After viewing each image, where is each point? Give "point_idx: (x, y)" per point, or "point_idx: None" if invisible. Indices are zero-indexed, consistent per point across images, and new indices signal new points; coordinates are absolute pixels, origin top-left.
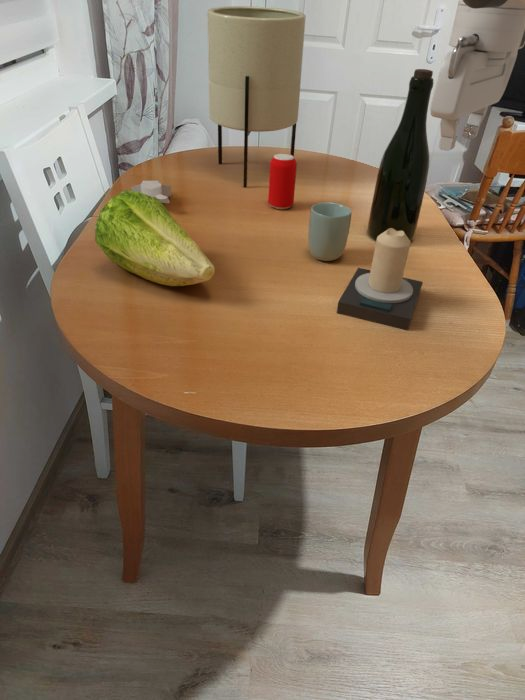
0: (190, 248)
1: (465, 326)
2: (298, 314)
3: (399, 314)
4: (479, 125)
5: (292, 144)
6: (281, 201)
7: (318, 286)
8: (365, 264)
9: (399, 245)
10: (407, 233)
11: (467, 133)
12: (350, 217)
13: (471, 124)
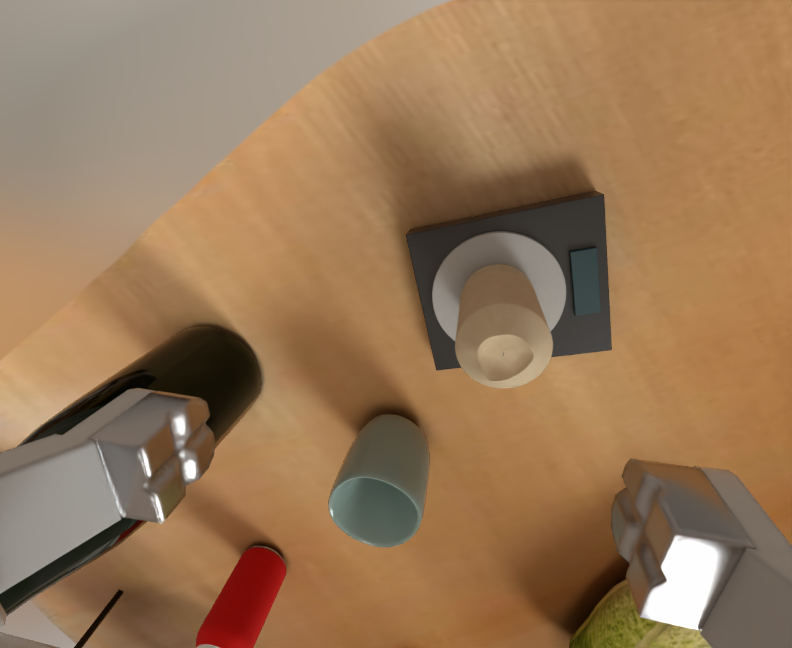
0: (703, 640)
1: (499, 80)
2: (649, 391)
3: (596, 223)
4: (68, 437)
5: (84, 643)
6: (276, 568)
7: (518, 402)
8: (370, 364)
9: (540, 323)
10: (216, 342)
11: (189, 452)
12: (365, 467)
13: (107, 491)
